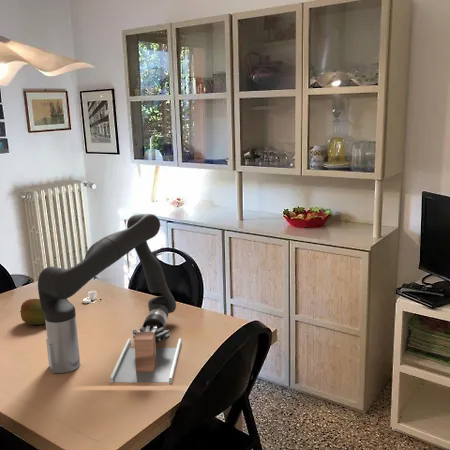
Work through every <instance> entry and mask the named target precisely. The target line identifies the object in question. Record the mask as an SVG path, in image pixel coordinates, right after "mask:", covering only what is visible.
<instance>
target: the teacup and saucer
mask: <svg viewBox="0 0 450 450" xmlns="http://www.w3.org/2000/svg"><path fill="white" fill-rule="evenodd" d="M87 294H88V296H87V297H85V298H83V299H82V303H83V304H94V303H95V302H96V298H97V297H96V296H98V291H96V290H89V291H88V292H87ZM87 298H88V299H87ZM91 300H93V301H91Z"/></svg>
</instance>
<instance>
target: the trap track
mask: <svg viewBox="0 0 450 450" xmlns="http://www.w3.org/2000/svg"><path fill="white" fill-rule="evenodd" d="M131 341H132V340H131V338H128V339H127V340H126V343H125V345H124V347H123V349H122V352H121V353H120V355H119V358H118V360H117V362H116V364H115V366H114V368H113V370H112V372H111V375H110V376H109V377H110V378H109V383H111V384H112V383H113V384H114V383H115V384H116V383H173V381H174V380H173V379H174V375H175V372H176V366H177V364H178V363H177V362H178V358H179V354H180V351H181V346H182V338H178V340H177V341H178V342H177V344H176V347H156V367H155V370H154V372H136V361H135V347H130V345H131V344H132V342H131Z"/></svg>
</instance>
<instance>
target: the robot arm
mask: <svg viewBox="0 0 450 450" xmlns="http://www.w3.org/2000/svg"><path fill="white" fill-rule="evenodd" d="M126 227H127V228H125V229H122V230H120V231H117V232H114V233H111V234H109V235H106V236H104V237H103V238H101V239H99V240H98V241H96V242H95V243H93V244H92V245H91V246H90V247H89V248H88V250H87V252H86V254H85V256H84V259H82V260H81V261H80V262H78V263H77V264H75V265H74V266H72V267H70V268H62V267H57V266H48V267H45V268H44V269H42V271H41V272H40V273H39V275H38V279H37V290H38V291H37V292H38V299H40V304H41V309H42V311H43V313H44V315H45V322H46V323H45V328H46V329H45V331H46V348H47V359H48V365H49V368H50V371H51V374H66V373H70V372H73V371H75V370H77V369H78V368H79V367H80V366H81V357H80V347H79V337H78V335H79V334H78V329H77V328H78V326H77V314H76V307H75V305H74V304H72V303H71V302H70V301H69V298H71V297H73V296H74V295H75V294H77V292H79V290H81V289H82V288H83V287H84V286H85V285H86V284H88V283H89V282H90V281H92V279H93V278H95V277H96V276H98V275H99V274H101V273H102V272H103V271H104V270H106V269H107V268H109V267H111V266H112V265H114V264H115V263H117V262H118V261H119V260H120V259H122V258H123V257H124V256H125V255H127V254H129V253H130V252H131V251H133V250H135V252H136V254H137V257H138V258H139V259H138V260H139V262H140V264H141V267H142V269H143V274H144V276H145V277H144V278H145V282H146V285H147V289H148V291H149V292H150V293H157V294H161V295H158V296H154V297H152V298H150V299H149V300H148V303H147V305H148V311H149V312H148V314H147V315H146V317H145V319H144V322H143V324H142V327H141V328H140V329H139V330H136V329H133V330H132V336H133V337H132V338H133V340H134V339H135V337H136V334H137V332H155V344H160V343H161V342H163V341H166V340H167V339H169V338H170V335H171V334H170V330H169V329H166V326H167V322H168V321H167V320H168V317H169V314H172V313H174V312H175V310H176V308H177V303H176V299H175V298H174V296H173V294H172V292H171V291H170V289H169V286H168V284H167V282H166V277H165V273H164V270H163V267H162V265H161V263H160V261H159V260H158V259H157V257H156V256H155V254H154V253H153V252H152V251H151V248H150V246H149V244H148V242H147V241H149V240H151V239H153V238H155V237H156V236H157V235H158V233H159V231H160V230H161V222H160V218H159V217H157V215H155V214H152V213H141V214H135V215H131V216H130V217H129V218H128V220H127V223H126ZM165 329H166V330H165Z"/></svg>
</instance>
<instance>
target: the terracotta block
mask: <svg viewBox="0 0 450 450" xmlns="http://www.w3.org/2000/svg"><path fill="white" fill-rule="evenodd" d="M133 341H134V342H133V343H134V348H135V361H136V372H154V370H155V367H156V348H157V346H156V345H157V343H156V342H155V332H137V334H136V337H135V339H134V338H133Z"/></svg>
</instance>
